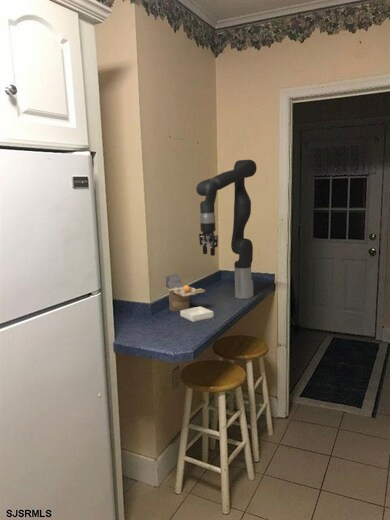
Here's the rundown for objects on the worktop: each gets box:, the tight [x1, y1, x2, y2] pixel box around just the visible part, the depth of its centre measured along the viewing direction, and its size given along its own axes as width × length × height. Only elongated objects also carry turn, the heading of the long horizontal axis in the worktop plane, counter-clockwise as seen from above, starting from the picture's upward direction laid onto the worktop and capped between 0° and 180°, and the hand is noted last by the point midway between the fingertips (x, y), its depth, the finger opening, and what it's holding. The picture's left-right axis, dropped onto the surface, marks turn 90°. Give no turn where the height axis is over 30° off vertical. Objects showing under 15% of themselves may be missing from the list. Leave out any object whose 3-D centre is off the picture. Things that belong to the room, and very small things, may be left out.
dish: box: [179, 306, 214, 323], centre depth 208 cm, size 12×12×3 cm
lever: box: [164, 273, 206, 297], centre depth 221 cm, size 20×13×7 cm, turn 32°
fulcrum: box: [168, 290, 191, 313], centre depth 222 cm, size 4×10×10 cm, turn 122°
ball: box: [182, 284, 191, 292], centre depth 214 cm, size 4×4×4 cm
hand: (208, 254), depth 218 cm, fingers open, 6 cm apart
